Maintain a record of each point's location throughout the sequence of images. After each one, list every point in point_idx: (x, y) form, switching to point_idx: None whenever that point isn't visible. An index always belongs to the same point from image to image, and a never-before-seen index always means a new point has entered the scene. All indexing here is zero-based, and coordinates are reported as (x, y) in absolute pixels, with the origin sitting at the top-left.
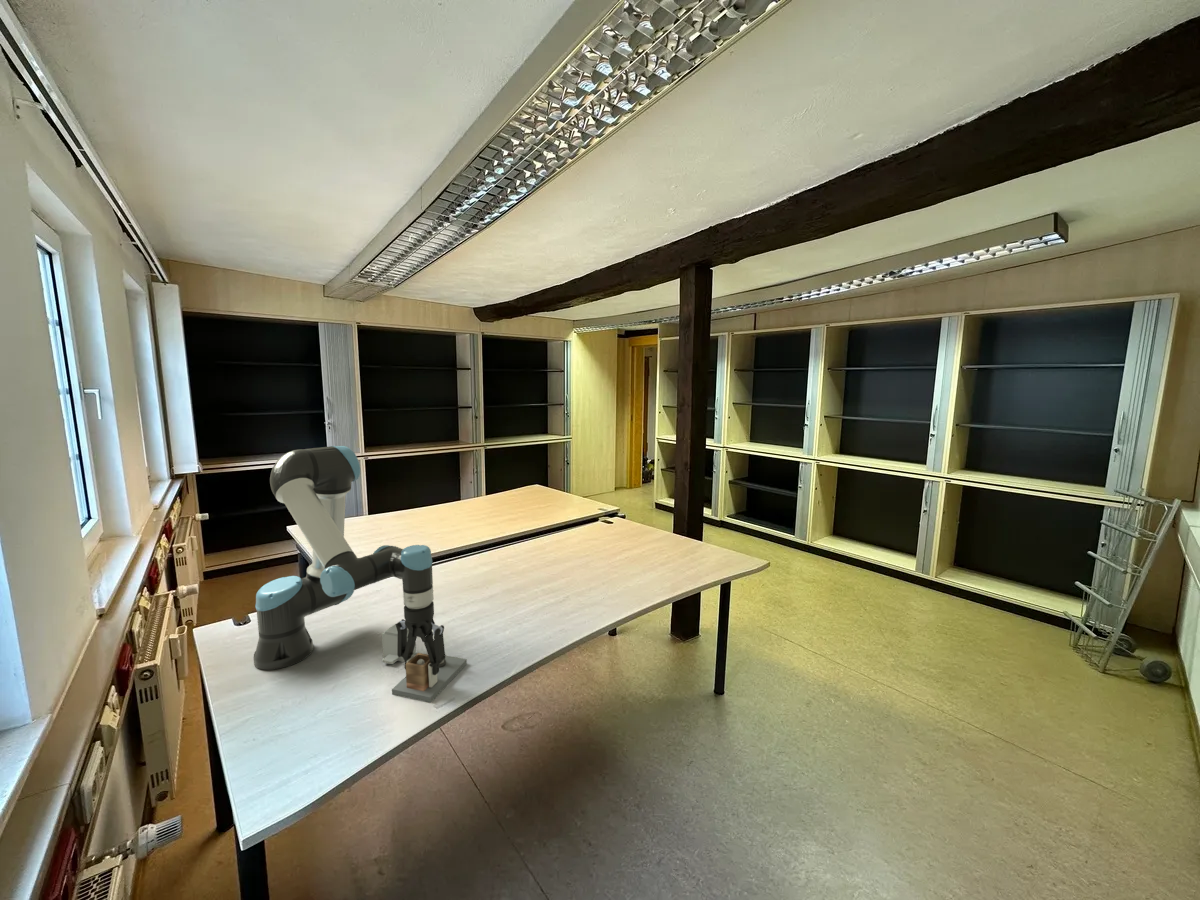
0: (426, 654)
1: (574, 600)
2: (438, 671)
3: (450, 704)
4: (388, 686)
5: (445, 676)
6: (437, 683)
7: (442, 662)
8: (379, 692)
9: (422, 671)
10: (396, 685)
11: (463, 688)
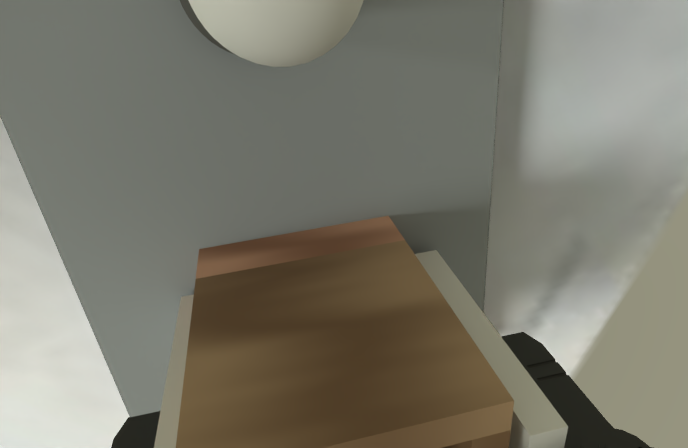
0: (353, 445)
1: None
2: (535, 348)
3: (579, 293)
4: (19, 372)
5: (451, 147)
6: (438, 251)
7: None
8: (34, 434)
9: None
10: (134, 414)
11: (604, 134)
